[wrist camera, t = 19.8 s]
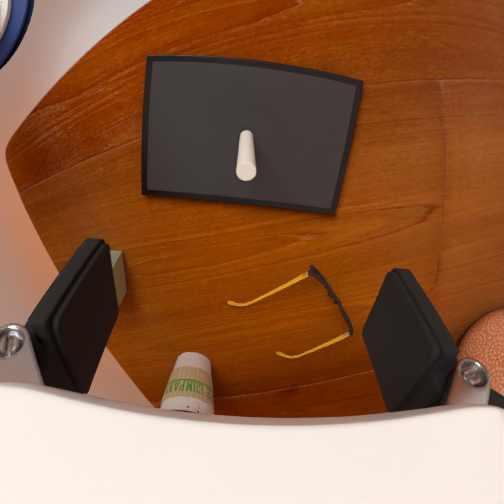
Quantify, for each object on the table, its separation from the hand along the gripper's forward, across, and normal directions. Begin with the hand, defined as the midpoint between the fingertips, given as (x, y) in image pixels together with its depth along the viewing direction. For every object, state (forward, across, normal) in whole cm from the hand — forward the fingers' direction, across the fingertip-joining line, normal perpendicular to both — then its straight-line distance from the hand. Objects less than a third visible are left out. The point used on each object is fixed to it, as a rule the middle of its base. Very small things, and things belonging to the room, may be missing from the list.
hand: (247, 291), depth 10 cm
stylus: (+27, 0, 0) cm, 27 cm away
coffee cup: (+28, +5, +40) cm, 49 cm away
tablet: (+28, 0, 0) cm, 28 cm away
